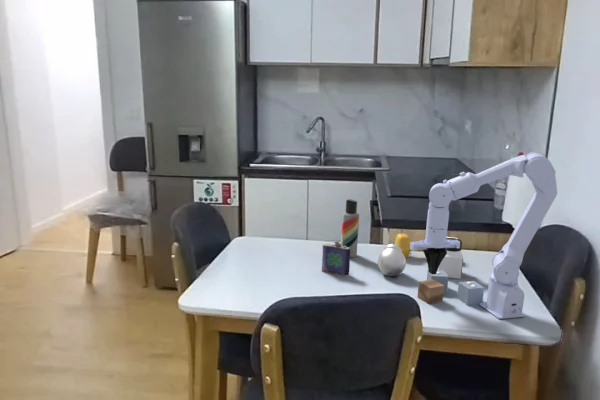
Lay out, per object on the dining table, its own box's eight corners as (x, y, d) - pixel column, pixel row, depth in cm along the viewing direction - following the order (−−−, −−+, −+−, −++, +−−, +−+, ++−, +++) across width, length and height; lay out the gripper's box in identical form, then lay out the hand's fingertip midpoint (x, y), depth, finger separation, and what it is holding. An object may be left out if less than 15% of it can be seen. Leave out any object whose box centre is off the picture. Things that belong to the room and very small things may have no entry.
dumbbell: (397, 261, 185) (398, 238, 183) (392, 252, 194) (394, 230, 192) (452, 262, 185) (454, 240, 183) (445, 254, 194) (447, 232, 192)
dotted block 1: (446, 292, 160) (448, 275, 159) (430, 291, 160) (431, 275, 159) (442, 285, 165) (444, 269, 164) (426, 285, 165) (427, 269, 164)
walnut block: (442, 301, 153) (444, 285, 152) (428, 304, 151) (430, 288, 150) (431, 295, 157) (432, 279, 156) (417, 297, 155) (418, 281, 154)
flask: (320, 271, 173) (322, 239, 170) (323, 268, 175) (325, 237, 173) (347, 276, 169) (349, 244, 167) (350, 273, 172) (352, 241, 169)
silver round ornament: (409, 273, 173) (412, 244, 171) (398, 282, 166) (400, 251, 163) (384, 267, 178) (386, 238, 176) (371, 275, 171) (373, 245, 168)
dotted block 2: (482, 304, 152) (484, 286, 151) (466, 305, 151) (468, 288, 150) (472, 296, 157) (474, 280, 156) (457, 298, 156) (458, 281, 155)
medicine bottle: (461, 279, 170) (465, 243, 167) (437, 277, 171) (441, 241, 169) (459, 271, 177) (463, 236, 174) (436, 269, 178) (440, 234, 175)
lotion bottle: (337, 253, 190) (340, 198, 185) (351, 251, 193) (354, 197, 188) (345, 258, 185) (348, 202, 180) (359, 256, 188) (363, 201, 183)
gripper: (452, 221, 155) (447, 266, 158) (406, 223, 151) (402, 269, 154) (466, 228, 148) (460, 275, 151) (418, 231, 144) (414, 278, 147)
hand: (432, 273), depth 152 cm, fingers closed
